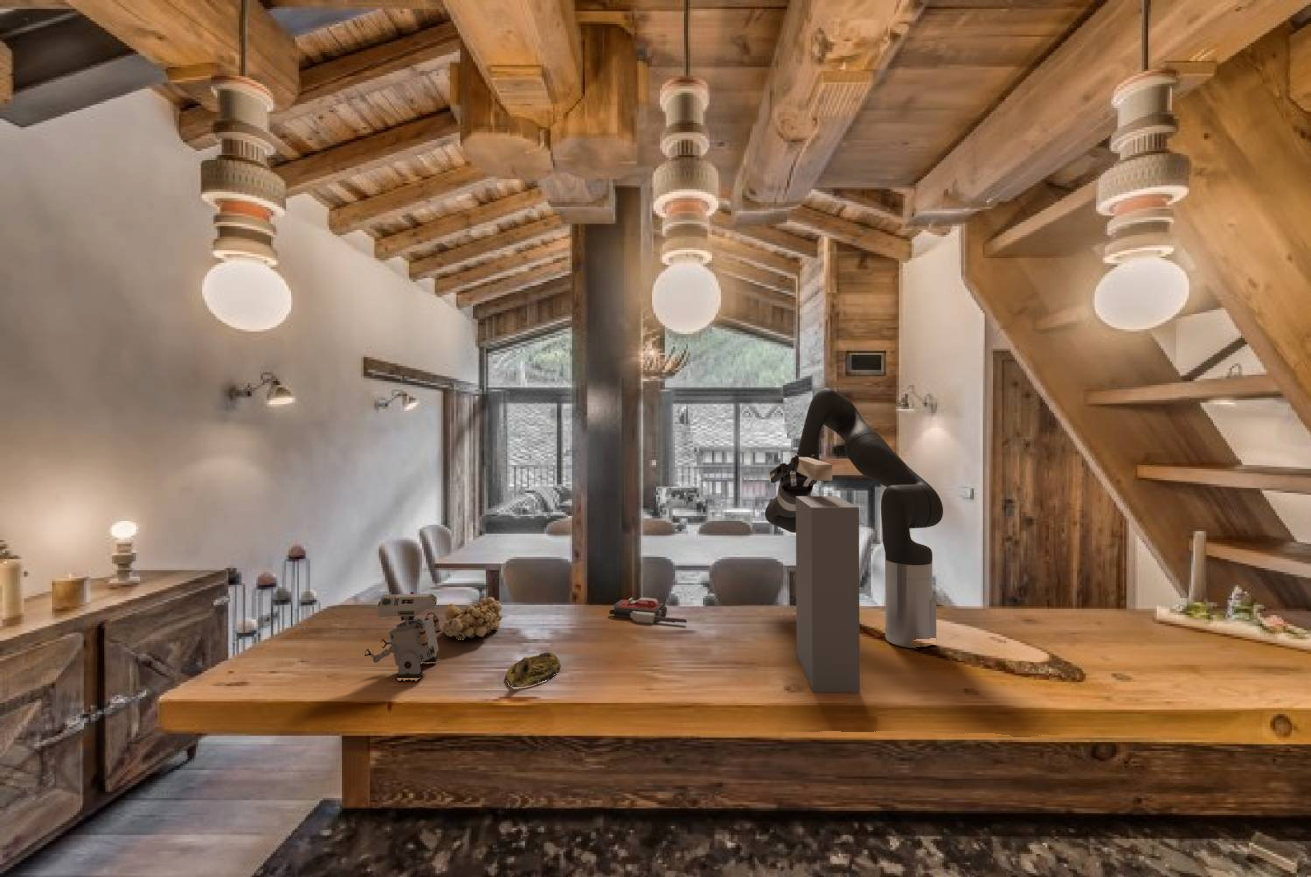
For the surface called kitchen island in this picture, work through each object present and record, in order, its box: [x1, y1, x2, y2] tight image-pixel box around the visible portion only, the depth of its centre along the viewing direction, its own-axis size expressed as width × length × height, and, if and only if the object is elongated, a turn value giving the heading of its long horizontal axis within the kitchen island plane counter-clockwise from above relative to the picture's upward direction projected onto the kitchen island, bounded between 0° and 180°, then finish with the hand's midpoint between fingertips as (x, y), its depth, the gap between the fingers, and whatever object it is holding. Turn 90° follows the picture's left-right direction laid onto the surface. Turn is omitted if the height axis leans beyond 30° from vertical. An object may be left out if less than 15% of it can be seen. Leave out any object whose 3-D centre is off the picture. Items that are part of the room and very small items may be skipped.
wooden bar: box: [796, 457, 833, 482], centre depth 121 cm, size 3×24×3 cm, turn 176°
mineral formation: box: [440, 596, 503, 640], centre depth 130 cm, size 8×13×15 cm
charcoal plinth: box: [795, 495, 861, 693], centre depth 109 cm, size 8×16×32 cm, turn 176°
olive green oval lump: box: [505, 651, 562, 687], centre depth 111 cm, size 9×5×15 cm
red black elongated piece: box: [608, 596, 688, 625], centre depth 143 cm, size 9×4×20 cm
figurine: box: [364, 591, 442, 679], centre depth 112 cm, size 9×12×15 cm
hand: (805, 458), depth 127 cm, fingers closed on wooden bar, 3 cm apart
